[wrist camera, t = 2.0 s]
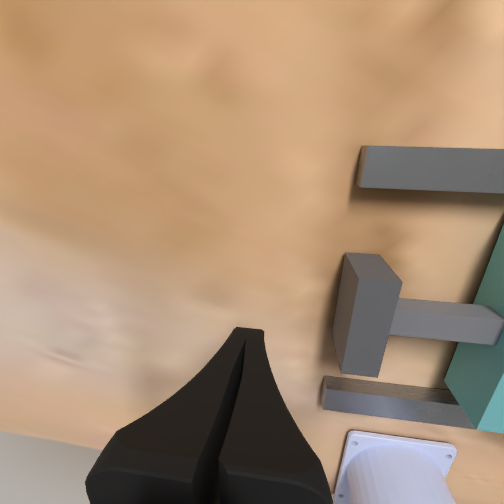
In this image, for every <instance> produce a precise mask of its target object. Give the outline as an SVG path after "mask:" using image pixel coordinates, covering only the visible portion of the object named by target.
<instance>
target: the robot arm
mask: <svg viewBox="0 0 504 504" xmlns="http://www.w3.org/2000/svg"><path fill="white" fill-rule="evenodd" d="M456 454H457V450H456V448H455V446H454V445H453V444H450V443H443V442H436V441H428V440H421V439H414V438H406V437H399V436H392V435H384V434H377V433H370V432H362V431H350V432H349V433H348V436H347V440H346V445H345V449H344V453H343V458H342V462H341V467H340V471H339V475H338V480H337V484H336V488H335V493H334V503H335V504H456V502H455V500H454V498H453V496H452V494H451V492H450V489H449V487H448V485H447V483H446V481H445V478H446V476H447V473H448V471H449V469H450V467H451V465H452V463H453V460H454V458H455V456H456ZM85 485H86V492H87V495H88V498H89V501H90V504H333V500H332V496H331V491H330V488H329V484H328V481H327V478H326V475H325V472H324V469H323V467H322V464H321V461H320V460H319V458H318V457H317V455H316V454H315V453H314V451H313V450H312V448H311V447H310V445H309V444H308V442H307V441H306V439H305V438H304V436H303V435H302V433H301V432H300V430H299V428H298V427H297V425H296V423H295V421H294V420H293V418H292V416H291V414H290V412H289V411H288V409H287V407H286V405H285V403H284V401H283V399H282V396H281V394H280V392H279V390H278V387H277V385H276V382H275V380H274V377H273V374H272V371H271V368H270V365H269V361H268V358H267V354H266V349H265V343H264V331H263V330H261V329H251V328H241V327H236V328H235V329H234V330H233V331H232V333H231V335H230V336H229V337H228V339H227V340H226V342H225V343H224V344H223V346H222V347H221V348H220V349H219V351H218V352H217V353H216V354H215V355H214V357H213V358H212V359H211V360H210V361H209V362H208V363H207V364H206V365H205V367H204V368H203V369H202V370H201V371H200V372H199V373H198V374H197V375H196V376H195V377H194V378H193V379H191V380H190V381H189V382H188V383H187V384H186V385H185V386H184V387H182V388H181V389H180V390H179V391H178V392H176V393H175V394H174V395H173V396H171V397H170V398H169V399H167V400H166V401H165V402H163V403H162V404H160V405H159V406H157V407H156V408H154V409H153V410H152V411H150V412H149V413H147V414H146V415H144V416H142V417H141V418H139V419H137V420H136V421H134V422H132V423H130V424H129V425H127V426H125V427H123V428H121V429H120V430H118V431H116V433H115V434H114V436H113V437H112V438H111V440H110V441H109V442H108V444H107V445H106V446H105V448H104V449H103V451H102V453H101V454H100V456H99V457H98V459H97V461H96V462H95V464H94V466H93V468H92V469H91V471H90V472H89V474H88V476H87V478H86V481H85Z"/></svg>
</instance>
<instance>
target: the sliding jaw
mask: <svg viewBox="0 0 504 504" xmlns="http://www.w3.org/2000/svg"><path fill="white" fill-rule="evenodd" d="M401 286H402V281H401V280H400V278H399V277H398V276H397V275H396V274H395V273H394V271H393V270H392V269H391V268H390V267H389V265H388V264H387V263H386V262H385V261H384V259H383V258H382V257H381V256H380V255H375V254H360V253H345V257H344V263H343V269H342V275H341V281H340V287H339V293H338V299H337V305H336V312H335V318H334V324H333V330H332V337H333V341H334V345H335V350H336V354H337V358H338V363H339V367H340V371H341V373H342V374H350V375H359V376H368V377H376V378H378V375H379V371H380V367H381V363H382V359H383V356H384V352H385V348H386V344H387V340H388V336H389V335H396V336H406V337H417V338H427V339H437V340H447V341H457V342H459V343H458V345H457V348H456V350H455V353H454V356H453V358H452V361H451V364H450V366H449V369H448V372H447V374H446V377H445V379H444V382H445V383H446V385H447V386H448V388H449V389H450V391H451V392H452V394H453V395H454V397H455V398H456V400H457V401H458V403H459V404H460V406H461V407H462V409H463V410H464V412H465V413H466V415H467V417H468V418H469V420H470V421H471V423H472V424H473V426H474V427H475V429H476V430H482V431H490V432H497V433H504V224H503V227H502V229H501V232H500V235H499V237H498V240H497V243H496V245H495V248H494V251H493V253H492V256H491V258H490V261H489V264H488V266H487V269H486V272H485V274H484V277H483V279H482V282H481V285H480V287H479V290H478V293H477V295H476V298H475V301H474V303H473V304H463V303H451V302H439V301H427V300H415V299H403V298H399V294H400V290H401Z"/></svg>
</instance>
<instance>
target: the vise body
mask: <svg viewBox="0 0 504 504" xmlns="http://www.w3.org/2000/svg"><path fill="white" fill-rule="evenodd" d="M356 185H357V186H359V187H362V188H386V189H409V190H433V191H456V192H480V193H504V149H472V148H434V147H396V146H362V147H361V153H360V159H359V165H358V172H357V178H356ZM321 399H322V406H323V410H331V411H339V412H346V413H354V414H362V415H369V416H377V417H385V418H392V419H400V420H408V421H416V422H423V423H431V424H439V425H446V426H454V427H462V428H469V429H475V427H474V426H473V424H472V423H471V421H470V420H469V418H468V417H467V415H466V413H465V412H464V410H463V409H462V407H461V406H460V404H459V403H458V401H457V400H456V398H455V397H454V395H453V394H452V392H451V391H450V390H441V389H433V388H424V387H416V386H407V385H398V384H390V383H381V382H373V381H364V380H356V379H347V378H338V377H330V376H324V381H323V387H322V393H321Z"/></svg>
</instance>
